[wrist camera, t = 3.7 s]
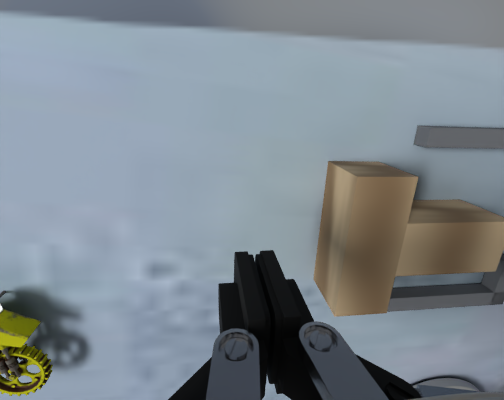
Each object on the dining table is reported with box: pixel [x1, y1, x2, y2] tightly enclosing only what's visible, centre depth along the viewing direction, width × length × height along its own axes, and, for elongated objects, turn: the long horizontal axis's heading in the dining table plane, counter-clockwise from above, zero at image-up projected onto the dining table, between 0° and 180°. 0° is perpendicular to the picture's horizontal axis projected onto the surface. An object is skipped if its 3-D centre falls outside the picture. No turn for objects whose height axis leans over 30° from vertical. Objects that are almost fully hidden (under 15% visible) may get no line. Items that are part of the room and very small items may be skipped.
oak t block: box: [314, 161, 504, 316], centre depth 19 cm, size 10×9×4 cm
